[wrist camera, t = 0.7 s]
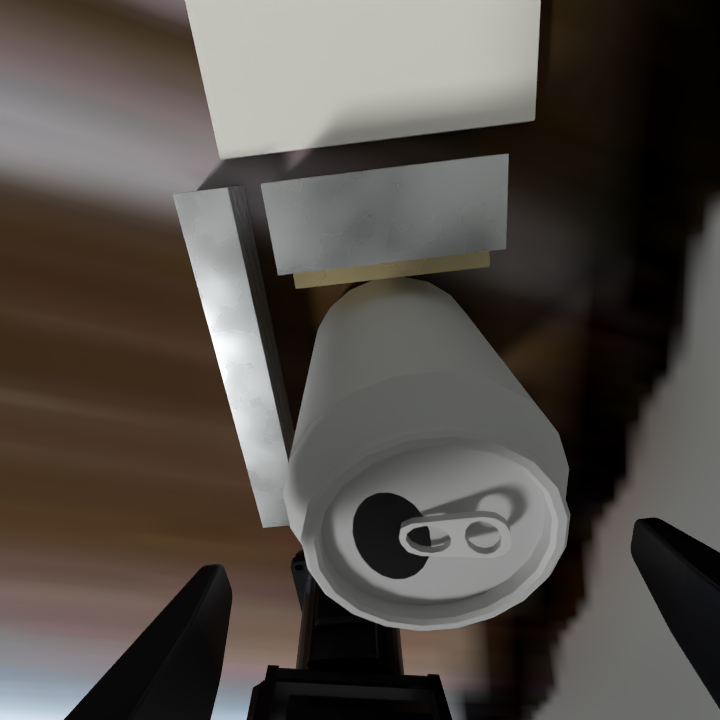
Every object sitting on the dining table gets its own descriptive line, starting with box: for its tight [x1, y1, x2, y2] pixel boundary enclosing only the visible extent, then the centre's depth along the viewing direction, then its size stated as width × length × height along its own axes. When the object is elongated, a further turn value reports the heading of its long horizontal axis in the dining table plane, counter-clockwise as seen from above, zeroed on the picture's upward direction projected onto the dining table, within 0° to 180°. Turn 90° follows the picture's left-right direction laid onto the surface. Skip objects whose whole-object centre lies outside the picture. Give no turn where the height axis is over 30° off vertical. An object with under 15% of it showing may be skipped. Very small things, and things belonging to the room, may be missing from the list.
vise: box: [173, 154, 509, 528], centre depth 19 cm, size 16×12×4 cm
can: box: [283, 277, 570, 631], centre depth 15 cm, size 8×8×12 cm
